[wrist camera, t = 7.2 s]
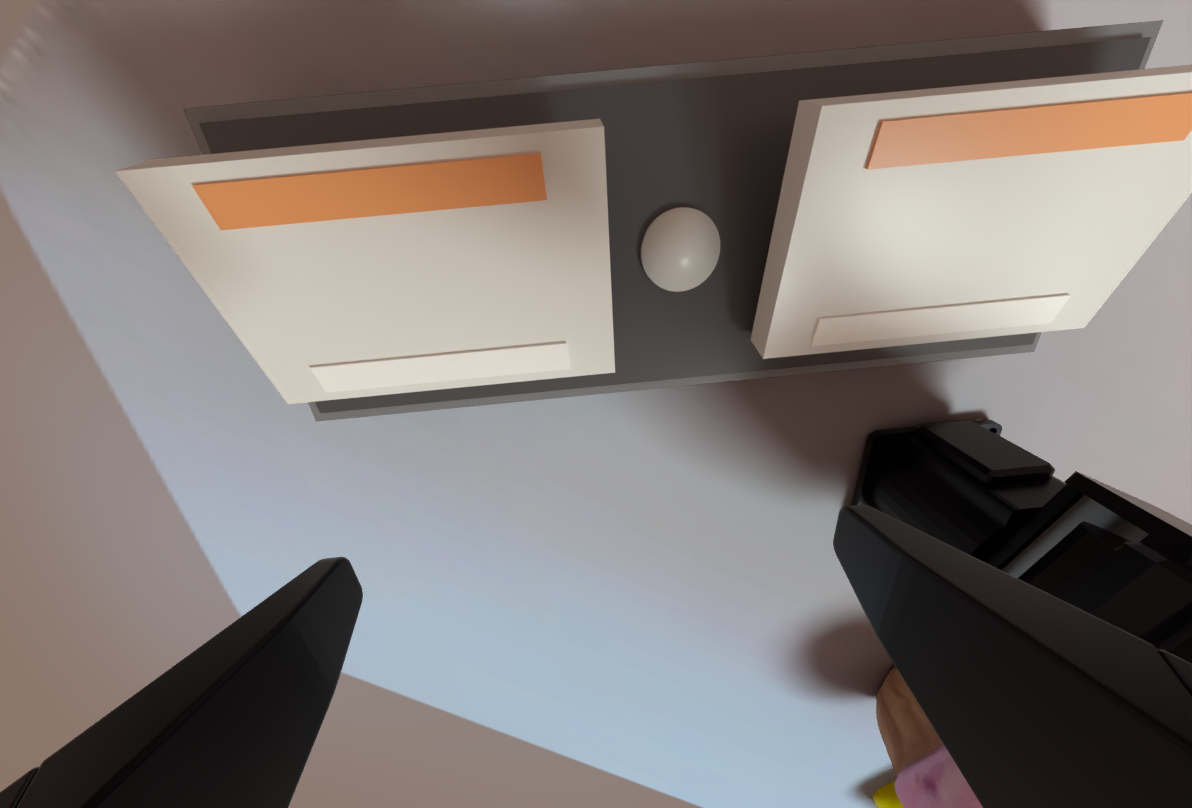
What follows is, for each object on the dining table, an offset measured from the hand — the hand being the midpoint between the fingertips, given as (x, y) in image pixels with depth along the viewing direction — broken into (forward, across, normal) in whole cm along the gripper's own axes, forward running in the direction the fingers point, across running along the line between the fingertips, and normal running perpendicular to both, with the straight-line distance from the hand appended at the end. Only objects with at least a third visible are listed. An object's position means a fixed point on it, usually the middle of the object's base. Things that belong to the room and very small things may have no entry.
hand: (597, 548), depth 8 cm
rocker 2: (+7, -12, -4) cm, 14 cm away
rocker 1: (+7, +4, -4) cm, 9 cm away
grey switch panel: (+12, -4, -4) cm, 13 cm away
